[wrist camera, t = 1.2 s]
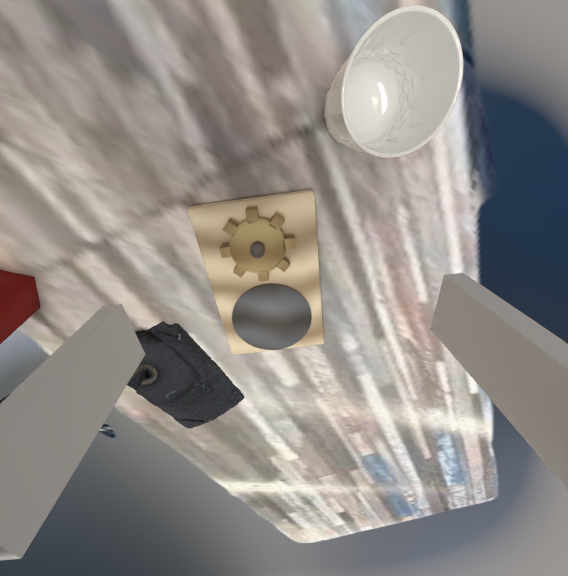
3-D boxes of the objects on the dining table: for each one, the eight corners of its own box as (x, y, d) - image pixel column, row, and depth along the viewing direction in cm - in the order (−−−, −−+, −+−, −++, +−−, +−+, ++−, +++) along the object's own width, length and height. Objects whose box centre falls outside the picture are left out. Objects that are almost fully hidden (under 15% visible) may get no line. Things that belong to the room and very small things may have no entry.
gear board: (191, 206, 29) (180, 214, 26) (312, 189, 29) (317, 195, 25) (233, 348, 40) (230, 367, 37) (322, 337, 40) (326, 355, 36)
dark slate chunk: (184, 422, 50) (176, 448, 46) (94, 350, 40) (73, 374, 36) (251, 396, 47) (249, 420, 43) (170, 310, 37) (158, 331, 33)
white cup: (324, 50, 23) (356, -5, 14) (407, 61, 24) (486, 14, 15) (312, 149, 27) (331, 152, 18) (384, 156, 28) (435, 162, 19)
